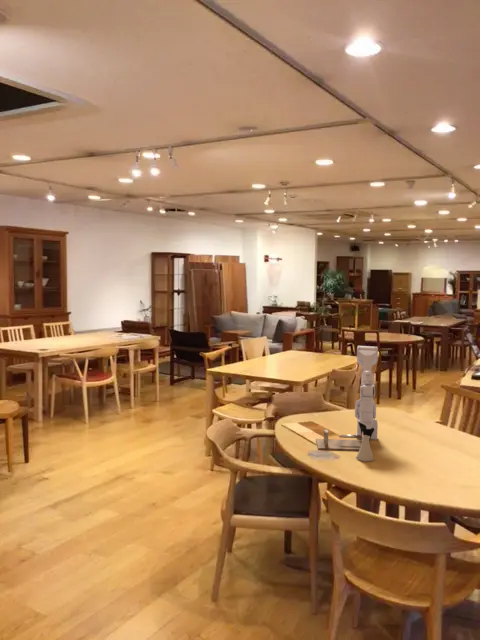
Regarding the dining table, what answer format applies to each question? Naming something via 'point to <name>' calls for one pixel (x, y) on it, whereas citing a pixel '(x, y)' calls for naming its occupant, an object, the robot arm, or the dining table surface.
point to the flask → (365, 450)
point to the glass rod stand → (351, 436)
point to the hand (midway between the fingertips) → (365, 440)
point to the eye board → (338, 444)
